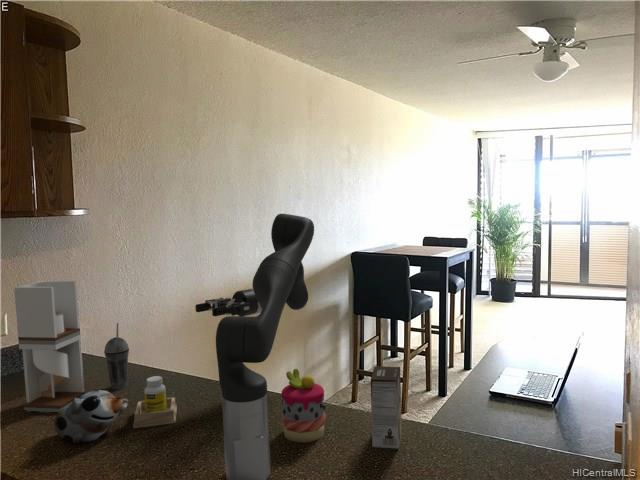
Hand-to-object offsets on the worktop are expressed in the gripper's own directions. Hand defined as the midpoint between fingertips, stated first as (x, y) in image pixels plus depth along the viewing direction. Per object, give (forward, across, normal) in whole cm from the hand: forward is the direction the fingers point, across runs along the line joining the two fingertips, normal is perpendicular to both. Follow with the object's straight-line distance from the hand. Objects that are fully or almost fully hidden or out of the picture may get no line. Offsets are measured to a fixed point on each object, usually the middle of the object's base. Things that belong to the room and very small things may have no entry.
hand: (204, 310), depth 141 cm
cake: (-7, +32, +27) cm, 43 cm away
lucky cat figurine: (+28, -8, +28) cm, 40 cm away
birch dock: (+13, -5, +27) cm, 31 cm away
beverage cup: (+10, -34, +27) cm, 45 cm away
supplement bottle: (+13, -5, +27) cm, 30 cm away
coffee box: (-17, +49, +27) cm, 59 cm away
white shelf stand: (+29, -35, +27) cm, 53 cm away
